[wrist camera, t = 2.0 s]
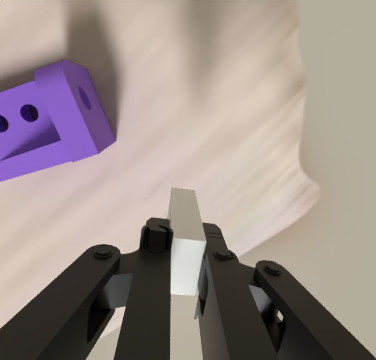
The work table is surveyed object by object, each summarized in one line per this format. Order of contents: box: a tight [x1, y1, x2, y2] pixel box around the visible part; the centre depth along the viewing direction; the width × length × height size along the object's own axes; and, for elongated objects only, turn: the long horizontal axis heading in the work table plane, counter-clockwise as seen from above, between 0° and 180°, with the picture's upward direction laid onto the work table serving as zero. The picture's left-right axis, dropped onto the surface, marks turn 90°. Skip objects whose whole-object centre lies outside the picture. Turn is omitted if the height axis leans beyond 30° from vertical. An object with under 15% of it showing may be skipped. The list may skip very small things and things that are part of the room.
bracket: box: [0, 60, 116, 181], centre depth 22 cm, size 12×7×7 cm, turn 108°
